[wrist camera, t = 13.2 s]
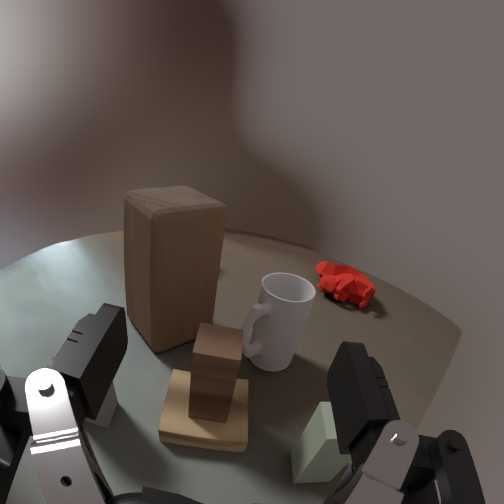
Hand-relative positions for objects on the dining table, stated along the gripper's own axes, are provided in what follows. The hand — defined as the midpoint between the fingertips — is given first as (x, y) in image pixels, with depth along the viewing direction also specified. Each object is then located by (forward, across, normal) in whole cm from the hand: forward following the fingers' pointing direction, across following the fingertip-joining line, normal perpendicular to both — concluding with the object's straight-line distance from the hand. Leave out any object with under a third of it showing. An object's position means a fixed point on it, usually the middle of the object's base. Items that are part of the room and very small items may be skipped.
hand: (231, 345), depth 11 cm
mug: (+22, +5, -23) cm, 33 cm away
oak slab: (+12, -1, -24) cm, 26 cm away
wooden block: (+26, -9, -24) cm, 37 cm away
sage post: (+6, +11, -23) cm, 26 cm away
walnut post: (+11, -1, -21) cm, 24 cm away
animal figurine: (+46, +21, -24) cm, 56 cm away
